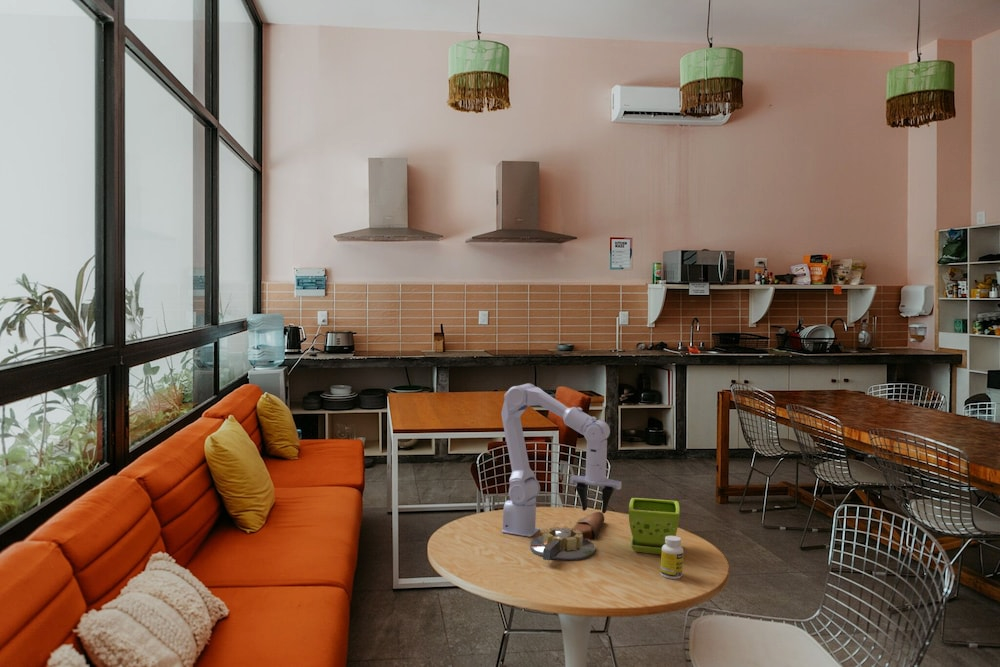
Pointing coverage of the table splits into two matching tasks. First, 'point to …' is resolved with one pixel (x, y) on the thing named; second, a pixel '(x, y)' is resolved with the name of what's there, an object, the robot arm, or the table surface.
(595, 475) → the robot arm
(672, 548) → the supplement bottle
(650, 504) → the flower pot
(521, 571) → the table surface
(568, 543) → the gear with bar handle
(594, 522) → the sunglasses case
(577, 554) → the grey round disc
